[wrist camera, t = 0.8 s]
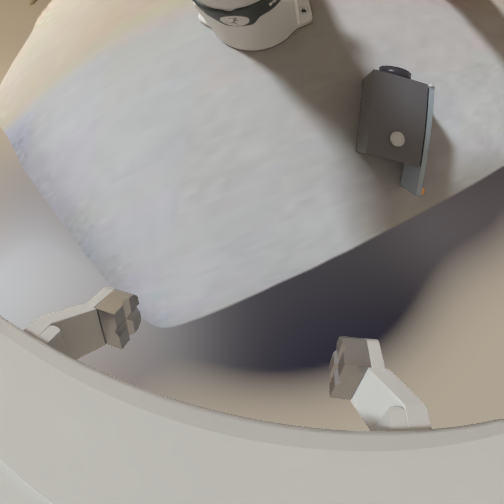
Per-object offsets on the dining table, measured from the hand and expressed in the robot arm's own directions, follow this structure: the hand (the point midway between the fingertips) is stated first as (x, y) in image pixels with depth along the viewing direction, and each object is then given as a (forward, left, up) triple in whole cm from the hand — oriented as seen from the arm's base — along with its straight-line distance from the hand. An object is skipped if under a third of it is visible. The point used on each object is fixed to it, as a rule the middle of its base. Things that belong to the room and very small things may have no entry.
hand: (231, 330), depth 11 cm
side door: (-10, +19, -37) cm, 43 cm away
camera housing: (-12, +14, -38) cm, 42 cm away
